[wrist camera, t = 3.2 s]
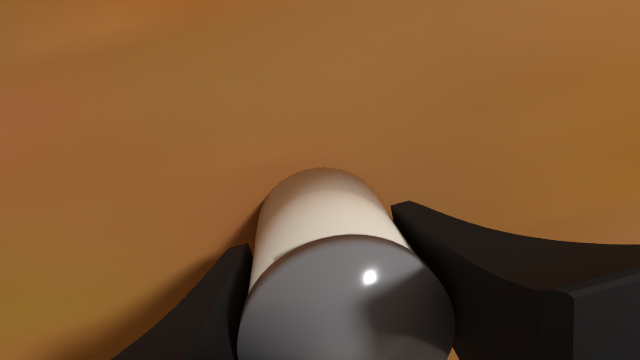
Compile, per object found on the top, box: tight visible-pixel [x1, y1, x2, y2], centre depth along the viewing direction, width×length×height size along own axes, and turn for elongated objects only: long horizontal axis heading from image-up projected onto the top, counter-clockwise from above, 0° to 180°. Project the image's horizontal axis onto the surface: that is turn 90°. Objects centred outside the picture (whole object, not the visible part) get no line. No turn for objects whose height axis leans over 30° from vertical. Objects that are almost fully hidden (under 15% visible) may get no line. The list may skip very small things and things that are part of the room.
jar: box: [237, 168, 455, 360], centre depth 10 cm, size 5×5×6 cm
